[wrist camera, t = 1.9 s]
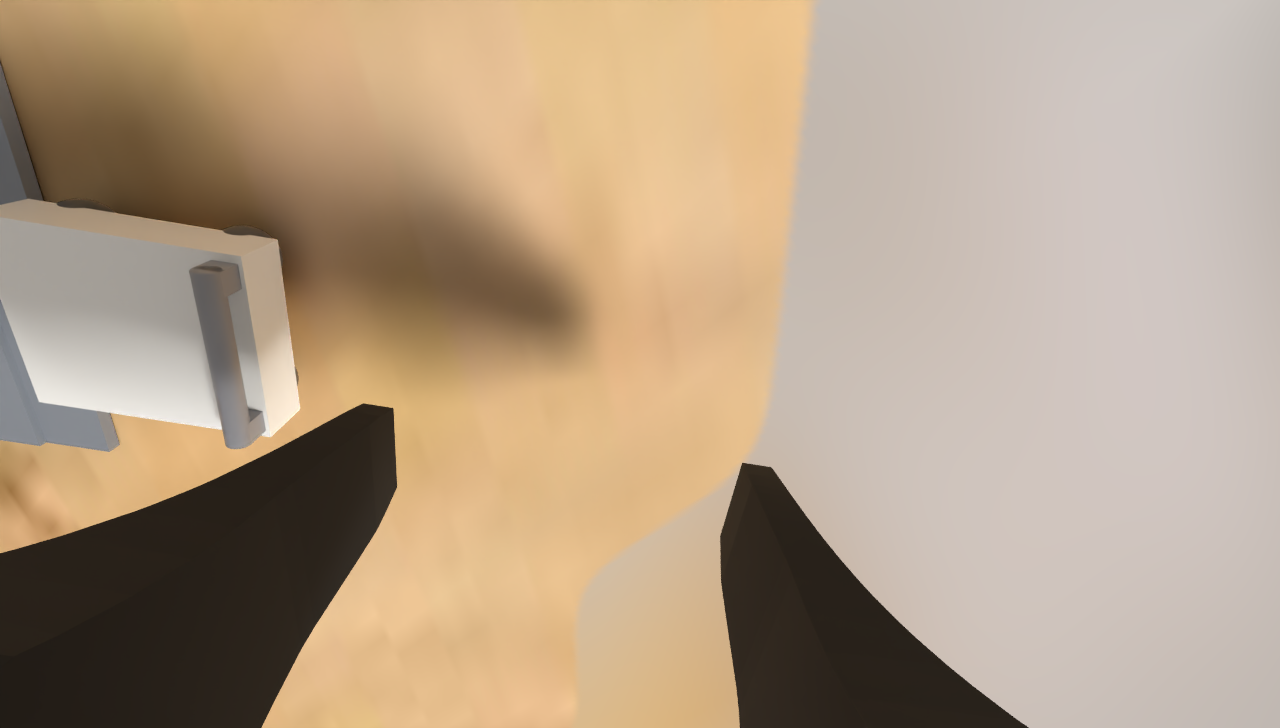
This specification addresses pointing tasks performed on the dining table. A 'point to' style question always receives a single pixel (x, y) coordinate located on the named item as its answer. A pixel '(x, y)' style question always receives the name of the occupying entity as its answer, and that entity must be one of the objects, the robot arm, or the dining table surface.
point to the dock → (3, 386)
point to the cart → (149, 317)
